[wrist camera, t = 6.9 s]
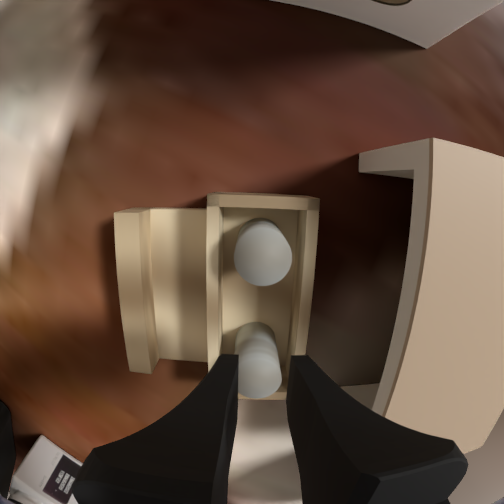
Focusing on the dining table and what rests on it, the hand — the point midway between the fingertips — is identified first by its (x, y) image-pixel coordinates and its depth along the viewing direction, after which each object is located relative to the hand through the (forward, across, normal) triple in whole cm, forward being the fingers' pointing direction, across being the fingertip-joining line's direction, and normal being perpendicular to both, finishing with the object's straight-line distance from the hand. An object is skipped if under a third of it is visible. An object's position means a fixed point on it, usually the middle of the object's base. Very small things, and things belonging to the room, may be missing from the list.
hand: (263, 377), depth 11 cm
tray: (+9, +3, 0) cm, 10 cm away
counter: (+9, -11, 0) cm, 14 cm away
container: (+10, +22, +24) cm, 34 cm away
